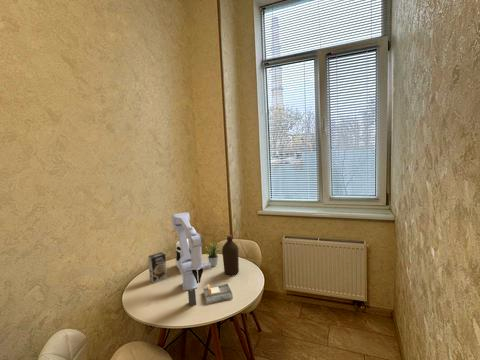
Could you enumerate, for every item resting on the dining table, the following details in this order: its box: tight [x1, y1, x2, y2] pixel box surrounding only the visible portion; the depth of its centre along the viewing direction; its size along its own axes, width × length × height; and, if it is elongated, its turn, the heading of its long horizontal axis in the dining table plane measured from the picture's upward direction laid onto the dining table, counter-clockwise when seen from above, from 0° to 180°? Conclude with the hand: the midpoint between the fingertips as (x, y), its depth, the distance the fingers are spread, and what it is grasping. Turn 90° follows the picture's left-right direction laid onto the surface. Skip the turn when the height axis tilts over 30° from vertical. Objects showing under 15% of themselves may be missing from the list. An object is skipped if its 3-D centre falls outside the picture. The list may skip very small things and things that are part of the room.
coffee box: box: [147, 252, 168, 284], centre depth 162 cm, size 9×6×16 cm
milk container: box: [175, 238, 191, 269], centre depth 179 cm, size 17×17×18 cm
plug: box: [187, 288, 197, 307], centre depth 132 cm, size 4×4×8 cm
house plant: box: [204, 241, 223, 267], centre depth 179 cm, size 14×14×16 cm
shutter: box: [206, 283, 220, 295], centre depth 139 cm, size 6×6×3 cm
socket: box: [202, 283, 234, 305], centre depth 139 cm, size 12×14×3 cm
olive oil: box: [221, 234, 240, 277], centre depth 165 cm, size 11×11×25 cm
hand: (198, 282), depth 136 cm, fingers closed
